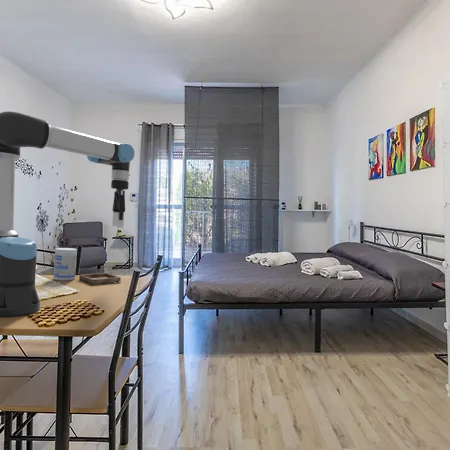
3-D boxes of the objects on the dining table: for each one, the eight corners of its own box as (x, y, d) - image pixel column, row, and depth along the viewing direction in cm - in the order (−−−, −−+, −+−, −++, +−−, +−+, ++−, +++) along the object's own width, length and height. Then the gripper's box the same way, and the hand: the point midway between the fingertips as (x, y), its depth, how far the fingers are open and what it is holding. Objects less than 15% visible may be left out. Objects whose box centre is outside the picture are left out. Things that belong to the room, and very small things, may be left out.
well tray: (92, 285, 159) (92, 279, 159) (79, 280, 169) (79, 274, 169) (120, 282, 169) (120, 277, 169) (106, 277, 179) (106, 272, 179)
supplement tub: (51, 280, 163) (52, 249, 162) (56, 277, 172) (57, 247, 172) (73, 281, 165) (75, 250, 165) (77, 277, 174) (78, 248, 174)
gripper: (133, 179, 150) (131, 228, 150) (123, 182, 172) (121, 225, 173) (115, 177, 147) (112, 227, 147) (108, 181, 169) (105, 225, 170)
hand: (117, 226), depth 160 cm, fingers open, 13 cm apart
